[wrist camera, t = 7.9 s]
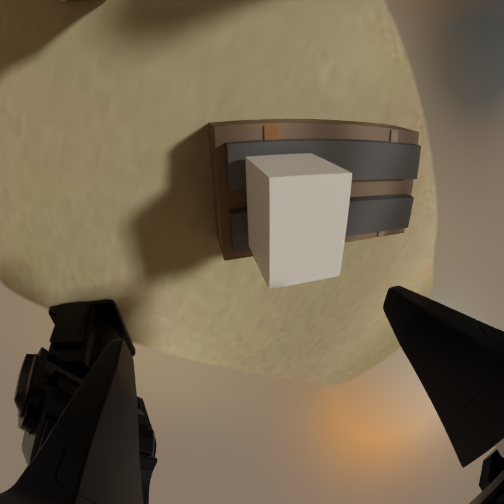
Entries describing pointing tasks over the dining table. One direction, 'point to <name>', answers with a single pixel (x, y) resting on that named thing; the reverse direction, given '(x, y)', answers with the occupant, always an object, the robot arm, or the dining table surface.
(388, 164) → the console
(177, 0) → the dining table surface
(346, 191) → the block
